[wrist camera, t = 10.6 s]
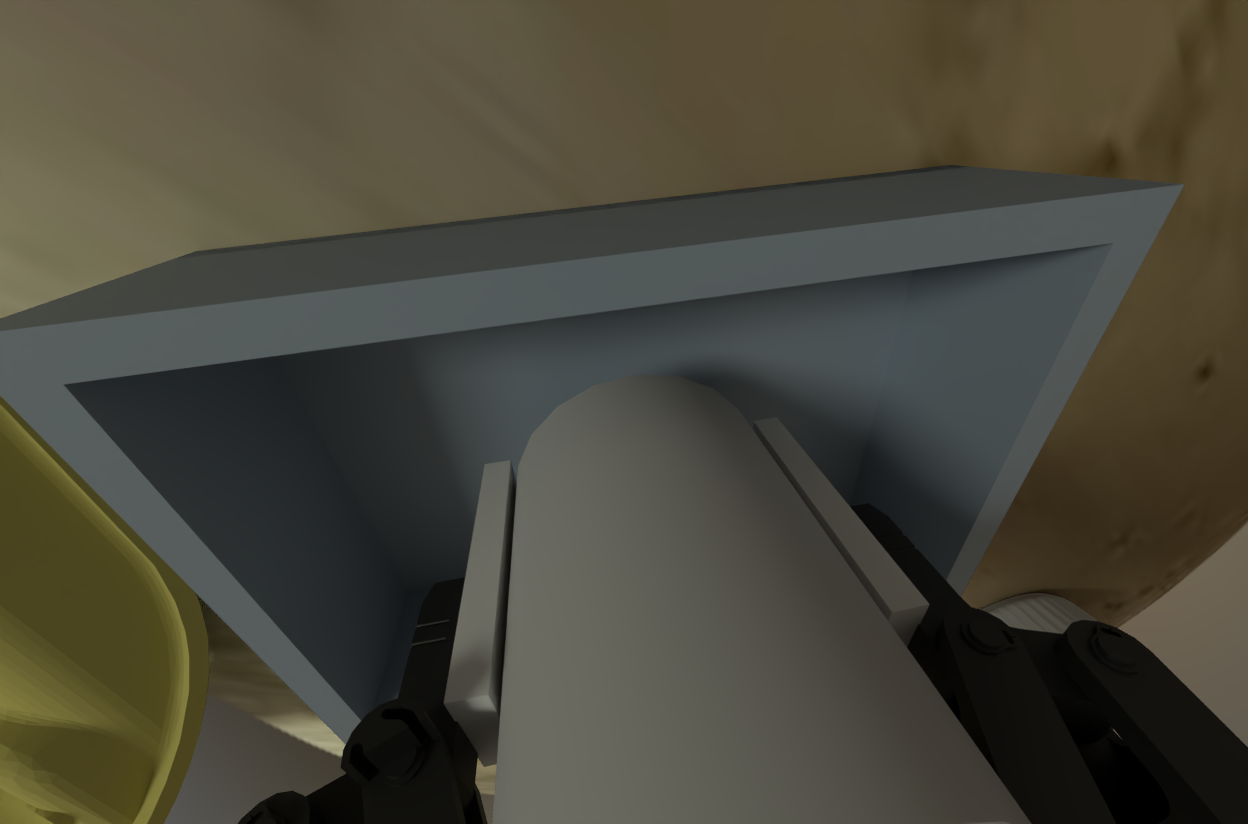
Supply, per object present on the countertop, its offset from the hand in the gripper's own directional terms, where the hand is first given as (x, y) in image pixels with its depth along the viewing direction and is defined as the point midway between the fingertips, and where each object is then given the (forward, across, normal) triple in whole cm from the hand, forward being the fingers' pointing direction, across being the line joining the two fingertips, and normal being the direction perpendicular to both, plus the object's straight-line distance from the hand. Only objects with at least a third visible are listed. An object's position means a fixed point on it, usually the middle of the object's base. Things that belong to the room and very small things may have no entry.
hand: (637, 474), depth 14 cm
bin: (+3, 0, 0) cm, 3 cm away
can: (+1, 0, 0) cm, 1 cm away
